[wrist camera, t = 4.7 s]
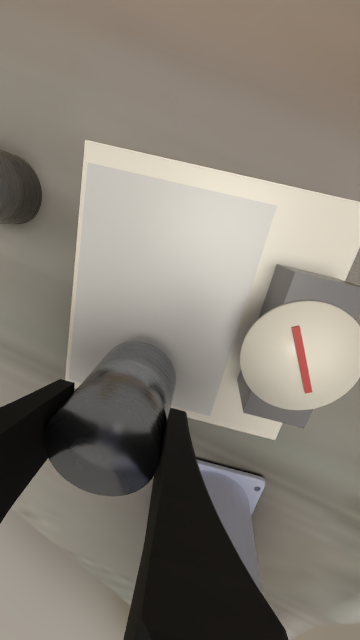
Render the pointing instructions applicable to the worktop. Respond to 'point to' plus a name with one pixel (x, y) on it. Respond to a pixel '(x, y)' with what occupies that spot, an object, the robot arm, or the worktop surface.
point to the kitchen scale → (217, 286)
